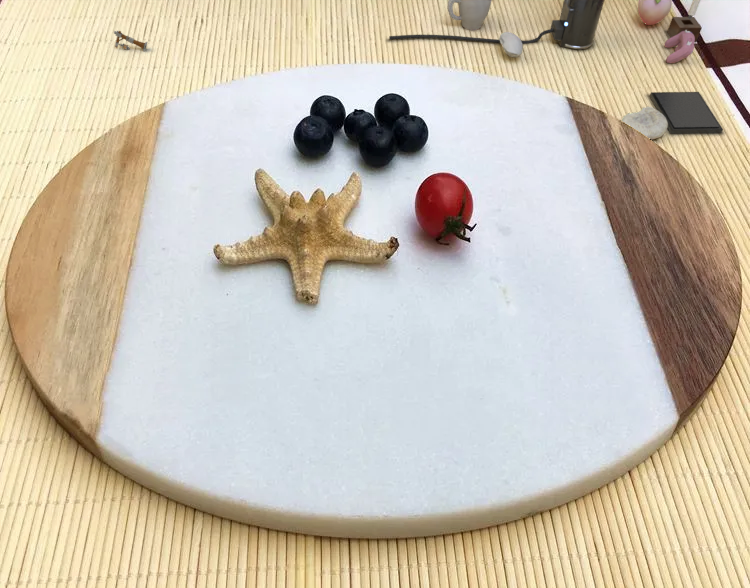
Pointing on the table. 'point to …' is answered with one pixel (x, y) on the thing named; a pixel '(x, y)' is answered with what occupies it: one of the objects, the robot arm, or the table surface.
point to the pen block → (684, 26)
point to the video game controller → (680, 46)
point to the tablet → (685, 112)
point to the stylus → (693, 8)
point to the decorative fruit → (653, 10)
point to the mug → (470, 12)
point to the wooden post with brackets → (129, 39)
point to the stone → (511, 44)
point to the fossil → (647, 122)
